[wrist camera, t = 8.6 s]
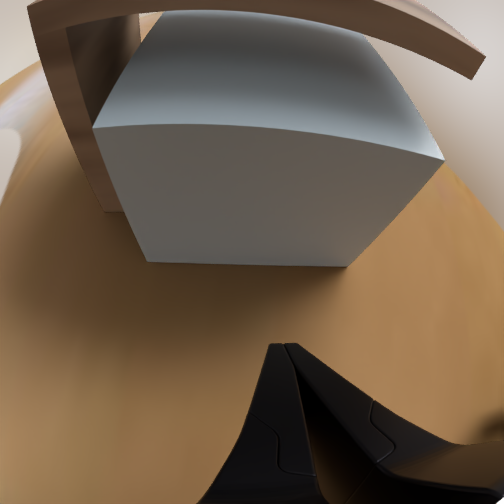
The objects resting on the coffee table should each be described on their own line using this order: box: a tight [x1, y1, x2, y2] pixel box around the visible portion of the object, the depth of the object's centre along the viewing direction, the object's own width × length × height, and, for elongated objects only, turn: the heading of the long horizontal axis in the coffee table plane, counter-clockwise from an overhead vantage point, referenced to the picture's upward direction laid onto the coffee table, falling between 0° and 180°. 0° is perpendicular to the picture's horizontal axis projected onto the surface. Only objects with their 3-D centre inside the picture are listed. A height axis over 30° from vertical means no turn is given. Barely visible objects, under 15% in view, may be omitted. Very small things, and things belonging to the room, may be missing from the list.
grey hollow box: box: [92, 10, 445, 267], centre depth 16 cm, size 14×12×10 cm
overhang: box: [27, 0, 486, 212], centre depth 14 cm, size 11×18×14 cm, turn 91°
